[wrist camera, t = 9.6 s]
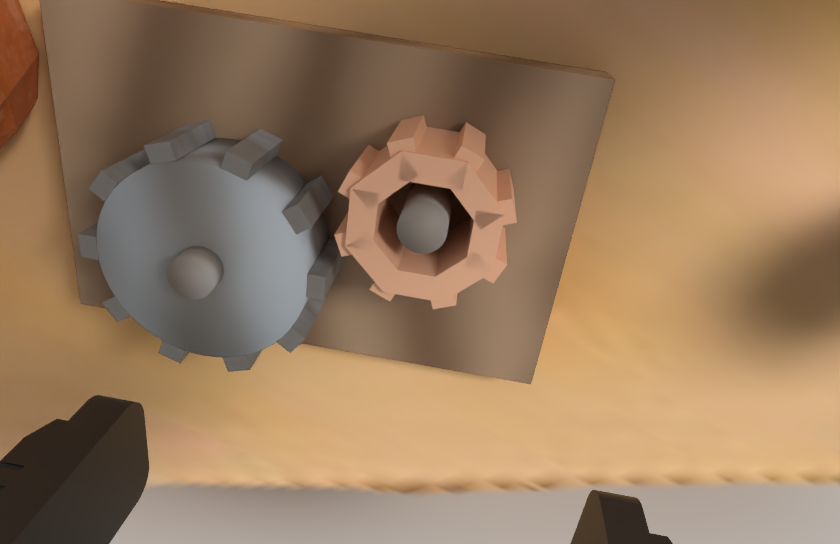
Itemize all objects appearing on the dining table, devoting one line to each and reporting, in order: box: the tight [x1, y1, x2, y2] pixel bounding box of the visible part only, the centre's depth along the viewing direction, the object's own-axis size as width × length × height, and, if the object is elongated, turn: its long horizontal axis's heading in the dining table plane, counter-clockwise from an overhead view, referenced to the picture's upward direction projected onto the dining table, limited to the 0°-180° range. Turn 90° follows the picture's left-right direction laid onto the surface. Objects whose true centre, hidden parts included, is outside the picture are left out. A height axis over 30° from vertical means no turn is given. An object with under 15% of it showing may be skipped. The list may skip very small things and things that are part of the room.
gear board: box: [40, 0, 615, 384], centre depth 24 cm, size 22×14×6 cm, turn 82°
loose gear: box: [334, 115, 517, 309], centre depth 23 cm, size 6×6×4 cm
